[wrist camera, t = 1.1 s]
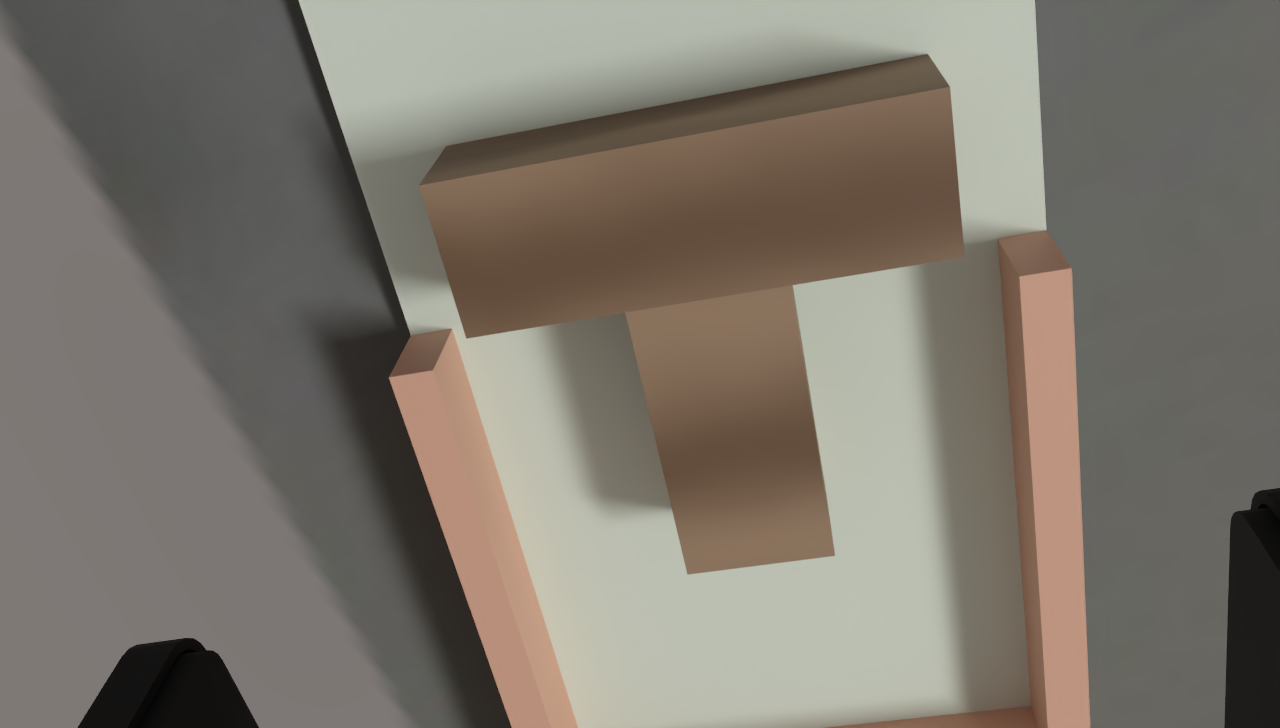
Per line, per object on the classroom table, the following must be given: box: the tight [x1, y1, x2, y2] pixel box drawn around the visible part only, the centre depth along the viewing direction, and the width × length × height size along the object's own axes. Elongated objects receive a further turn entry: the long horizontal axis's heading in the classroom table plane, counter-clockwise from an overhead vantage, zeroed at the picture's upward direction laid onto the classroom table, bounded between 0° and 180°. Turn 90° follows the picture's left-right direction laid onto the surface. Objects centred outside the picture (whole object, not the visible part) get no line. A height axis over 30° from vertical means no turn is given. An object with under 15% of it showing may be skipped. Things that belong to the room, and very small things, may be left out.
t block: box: [419, 54, 965, 575], centre depth 30 cm, size 12×12×3 cm
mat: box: [299, 0, 1046, 728], centre depth 32 cm, size 28×17×1 cm, turn 12°
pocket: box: [389, 231, 1090, 728], centre depth 33 cm, size 17×17×2 cm
